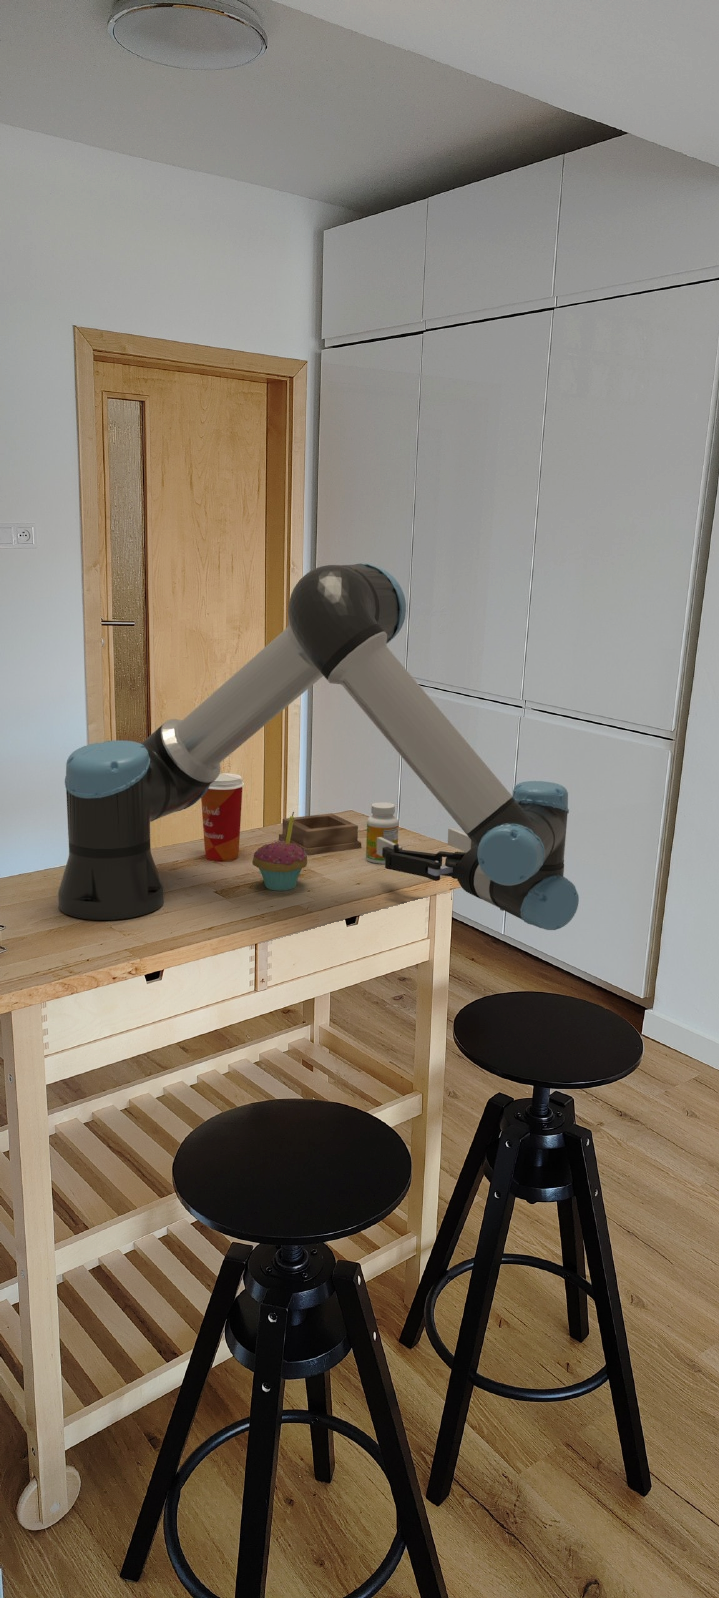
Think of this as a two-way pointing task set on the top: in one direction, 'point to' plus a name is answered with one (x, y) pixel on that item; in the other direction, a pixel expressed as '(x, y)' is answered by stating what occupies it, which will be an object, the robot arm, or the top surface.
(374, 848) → the supplement bottle
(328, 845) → the socket block
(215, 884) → the top surface
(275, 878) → the cupcake
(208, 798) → the paper cup
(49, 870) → the top surface
